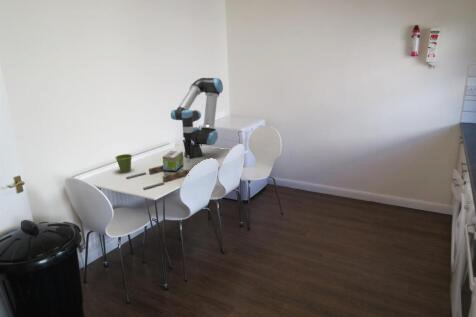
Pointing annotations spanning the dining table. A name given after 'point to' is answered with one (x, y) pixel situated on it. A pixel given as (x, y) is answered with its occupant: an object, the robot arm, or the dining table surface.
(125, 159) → the plant pot
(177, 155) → the tea box
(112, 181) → the dining table surface
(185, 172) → the walnut chute
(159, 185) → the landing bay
